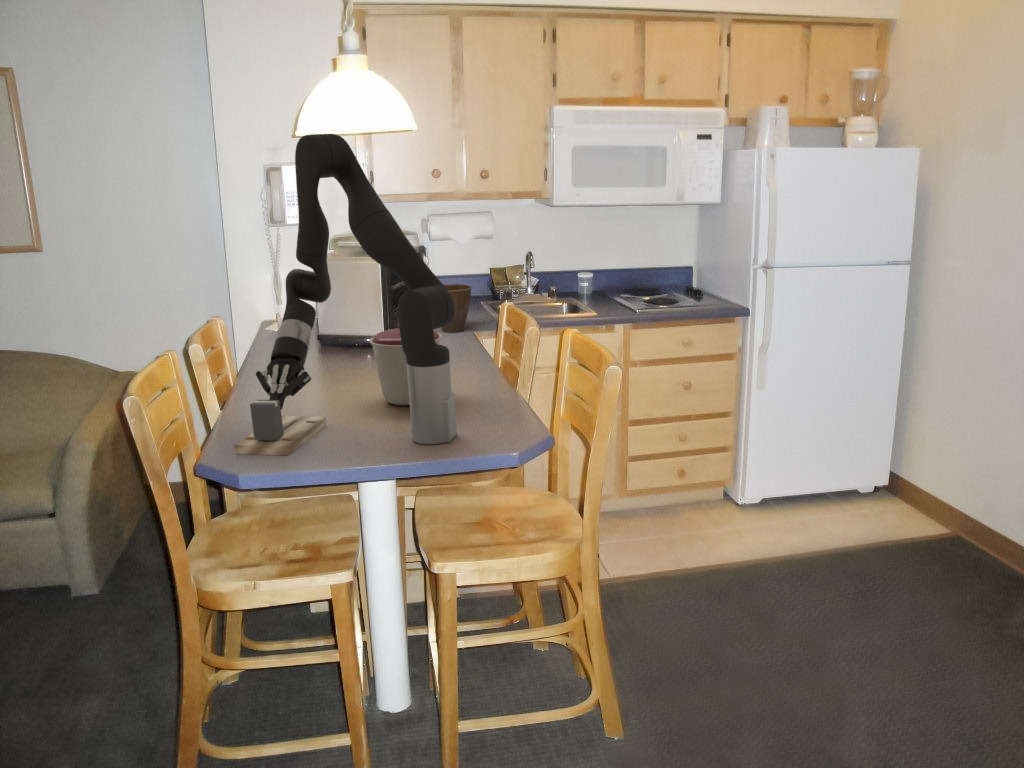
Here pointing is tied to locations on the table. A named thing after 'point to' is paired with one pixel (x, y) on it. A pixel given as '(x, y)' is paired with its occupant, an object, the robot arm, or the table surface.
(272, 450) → the fader panel
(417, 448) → the table surface
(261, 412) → the fader knob
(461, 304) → the plant pot
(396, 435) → the table surface
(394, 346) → the canister
